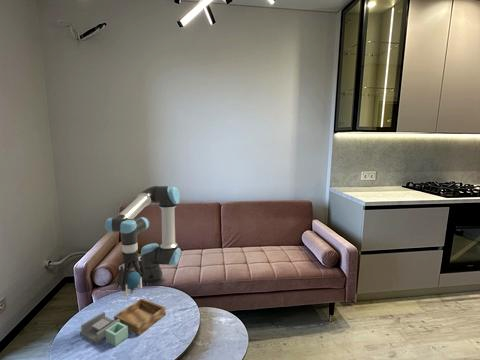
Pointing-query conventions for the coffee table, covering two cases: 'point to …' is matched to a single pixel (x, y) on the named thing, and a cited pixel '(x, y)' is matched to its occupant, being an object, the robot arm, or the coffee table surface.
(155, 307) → the tray
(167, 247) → the robot arm
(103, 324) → the checker plate
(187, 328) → the coffee table surface
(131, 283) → the light bulb
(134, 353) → the coffee table surface
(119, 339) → the cup
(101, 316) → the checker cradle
